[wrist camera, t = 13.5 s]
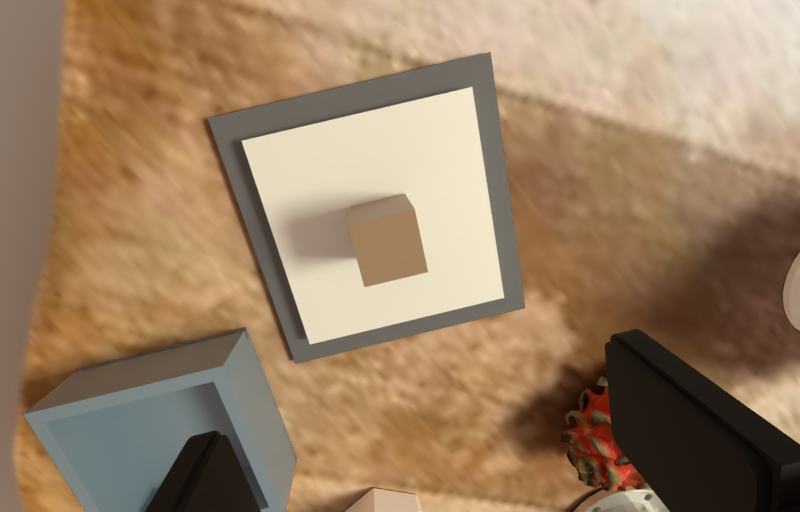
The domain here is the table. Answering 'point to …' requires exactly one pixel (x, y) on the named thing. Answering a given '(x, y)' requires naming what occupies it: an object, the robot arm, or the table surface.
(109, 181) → the table surface
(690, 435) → the robot arm
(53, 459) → the open square box
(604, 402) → the dragon fruit
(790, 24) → the table surface
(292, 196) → the lid
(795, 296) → the decorative vase
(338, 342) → the mat
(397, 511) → the jar
